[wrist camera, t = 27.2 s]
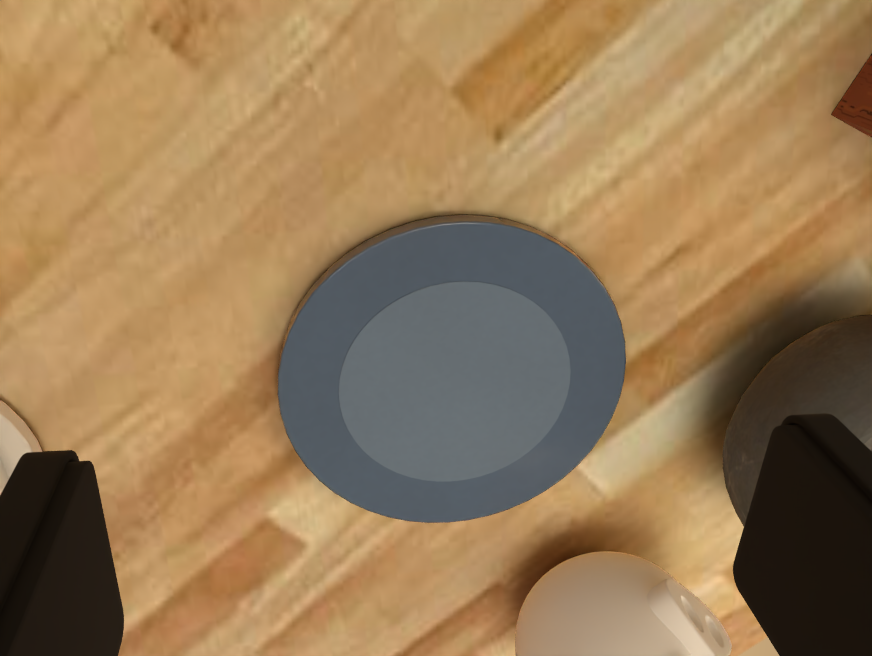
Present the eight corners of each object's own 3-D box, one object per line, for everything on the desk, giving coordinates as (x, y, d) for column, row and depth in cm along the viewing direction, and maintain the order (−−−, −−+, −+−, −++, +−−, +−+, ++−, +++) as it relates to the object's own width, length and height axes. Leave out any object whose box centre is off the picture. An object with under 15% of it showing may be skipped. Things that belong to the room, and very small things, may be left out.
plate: (286, 521, 44) (286, 534, 43) (267, 215, 36) (266, 223, 35) (595, 501, 47) (601, 513, 46) (645, 212, 38) (653, 219, 37)
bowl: (814, 525, 50) (920, 655, 41) (636, 443, 45) (715, 572, 36) (989, 343, 45) (1152, 447, 36) (812, 227, 40) (953, 316, 31)
